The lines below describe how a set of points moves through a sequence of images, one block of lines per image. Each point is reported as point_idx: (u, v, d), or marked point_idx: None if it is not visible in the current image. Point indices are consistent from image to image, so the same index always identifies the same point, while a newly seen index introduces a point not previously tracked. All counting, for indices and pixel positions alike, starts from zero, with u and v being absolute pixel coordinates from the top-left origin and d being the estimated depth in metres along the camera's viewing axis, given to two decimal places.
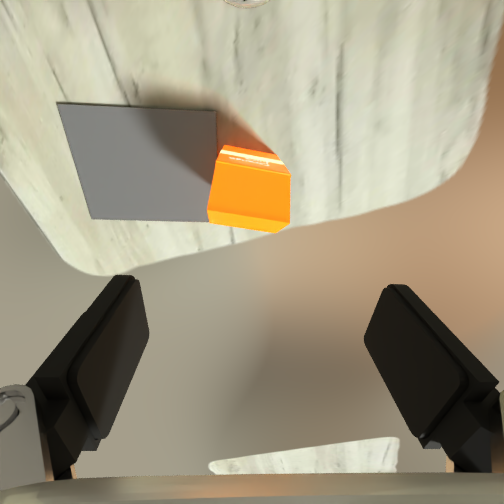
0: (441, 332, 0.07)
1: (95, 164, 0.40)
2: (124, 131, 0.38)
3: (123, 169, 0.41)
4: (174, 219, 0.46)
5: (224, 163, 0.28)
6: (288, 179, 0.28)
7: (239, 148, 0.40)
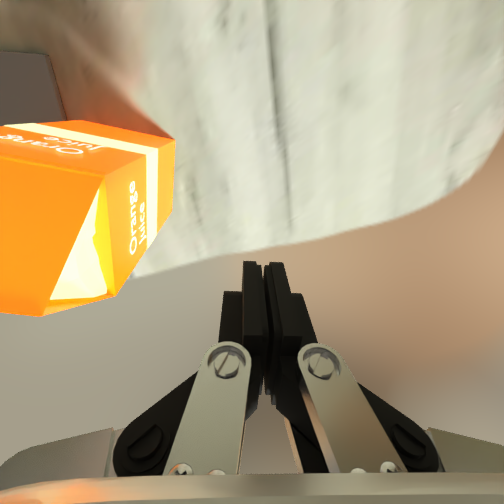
0: (282, 299, 0.08)
1: None
2: None
3: None
4: None
5: None
6: (95, 187, 0.11)
7: (103, 126, 0.23)
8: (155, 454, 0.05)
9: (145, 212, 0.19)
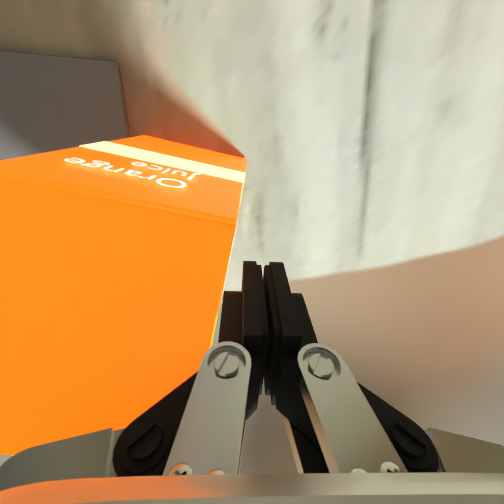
0: (282, 299, 0.08)
1: None
2: None
3: None
4: None
5: None
6: (225, 241, 0.08)
7: (171, 143, 0.20)
8: (155, 454, 0.05)
9: None
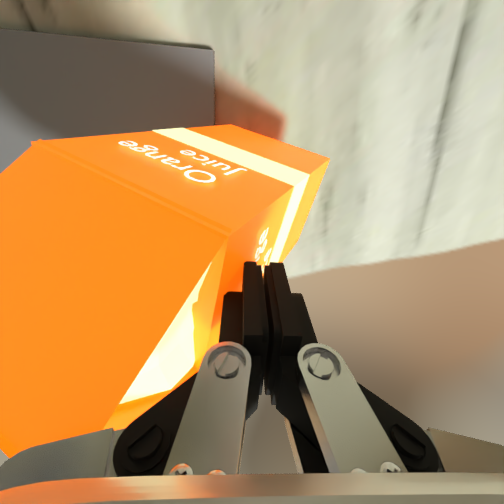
0: (282, 299, 0.08)
1: None
2: (27, 85, 0.19)
3: None
4: None
5: (49, 154, 0.09)
6: (209, 254, 0.07)
7: (251, 134, 0.19)
8: (155, 454, 0.05)
9: (269, 257, 0.14)
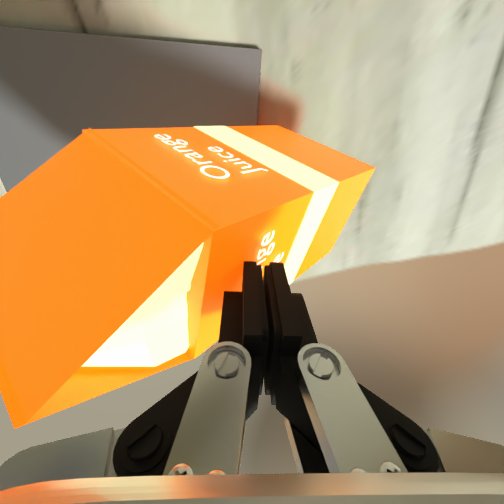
0: (282, 299, 0.08)
1: (27, 151, 0.21)
2: (76, 87, 0.19)
3: None
4: None
5: (92, 141, 0.10)
6: (192, 246, 0.07)
7: (295, 136, 0.19)
8: (155, 454, 0.05)
9: (283, 262, 0.13)
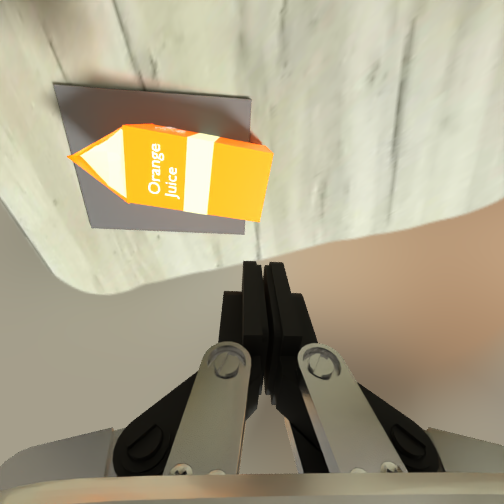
0: (282, 299, 0.08)
1: None
2: (136, 121, 0.31)
3: None
4: (191, 230, 0.38)
5: (148, 125, 0.30)
6: (118, 129, 0.23)
7: (259, 146, 0.30)
8: (155, 454, 0.05)
9: (182, 179, 0.26)
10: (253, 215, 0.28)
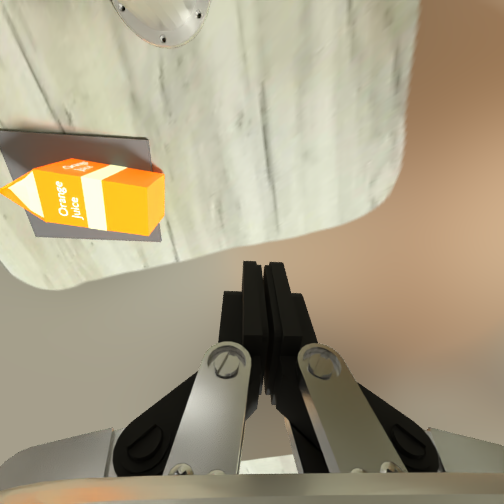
0: (282, 299, 0.08)
1: None
2: (60, 156, 0.40)
3: None
4: (117, 238, 0.47)
5: (68, 160, 0.39)
6: (30, 171, 0.33)
7: (154, 176, 0.39)
8: (155, 454, 0.05)
9: (83, 206, 0.35)
10: (142, 231, 0.37)
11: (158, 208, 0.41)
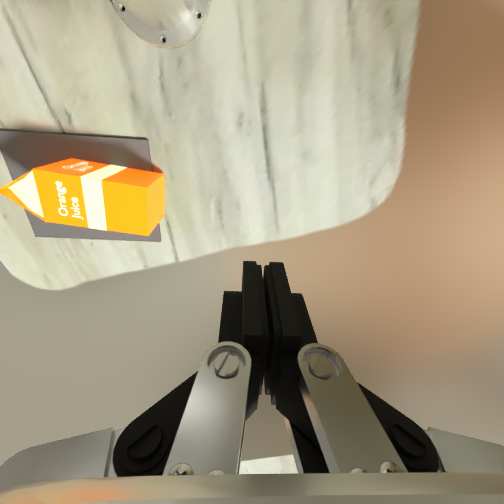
0: (282, 299, 0.08)
1: None
2: (60, 156, 0.40)
3: None
4: (117, 238, 0.47)
5: (67, 160, 0.39)
6: None
7: (154, 176, 0.39)
8: (155, 454, 0.05)
9: (83, 206, 0.35)
10: (142, 231, 0.37)
11: (158, 208, 0.41)
